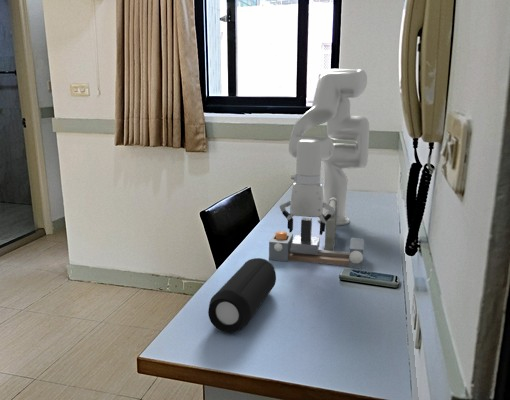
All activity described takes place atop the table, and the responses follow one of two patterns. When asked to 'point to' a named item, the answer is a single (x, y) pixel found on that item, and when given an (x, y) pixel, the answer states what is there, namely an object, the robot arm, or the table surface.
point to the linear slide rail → (282, 247)
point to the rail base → (322, 257)
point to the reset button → (281, 235)
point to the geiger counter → (331, 226)
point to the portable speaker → (242, 295)
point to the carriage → (305, 239)
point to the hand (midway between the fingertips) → (306, 232)
